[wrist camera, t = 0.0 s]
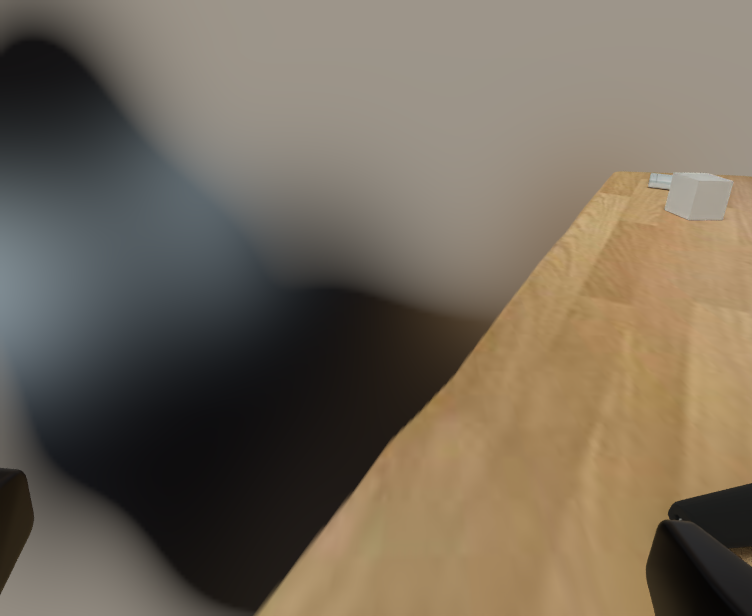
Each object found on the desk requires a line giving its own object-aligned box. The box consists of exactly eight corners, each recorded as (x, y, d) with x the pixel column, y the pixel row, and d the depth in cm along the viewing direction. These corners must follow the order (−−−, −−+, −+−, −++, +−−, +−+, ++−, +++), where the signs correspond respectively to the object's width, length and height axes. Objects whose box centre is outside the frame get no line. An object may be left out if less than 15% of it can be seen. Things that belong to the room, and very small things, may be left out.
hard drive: (721, 180, 119) (651, 171, 123) (724, 188, 112) (650, 178, 116) (719, 189, 119) (649, 180, 123) (722, 197, 112) (647, 187, 116)
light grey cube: (664, 210, 101) (673, 172, 98) (696, 210, 102) (706, 172, 100) (688, 220, 95) (699, 180, 93) (722, 220, 97) (733, 181, 94)
